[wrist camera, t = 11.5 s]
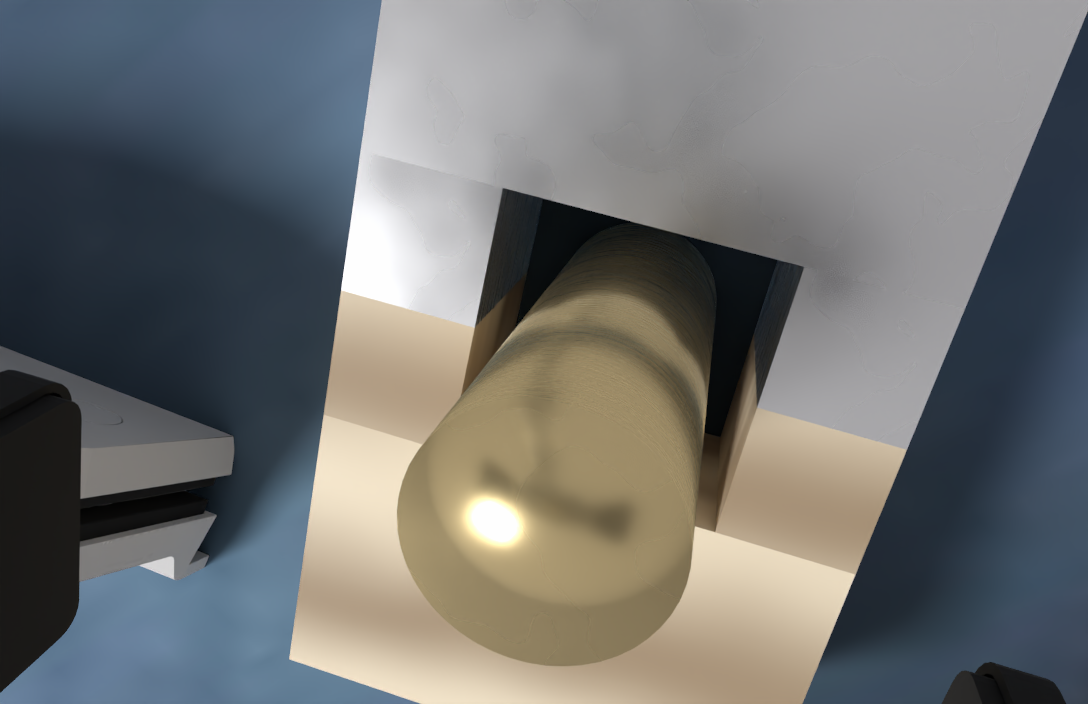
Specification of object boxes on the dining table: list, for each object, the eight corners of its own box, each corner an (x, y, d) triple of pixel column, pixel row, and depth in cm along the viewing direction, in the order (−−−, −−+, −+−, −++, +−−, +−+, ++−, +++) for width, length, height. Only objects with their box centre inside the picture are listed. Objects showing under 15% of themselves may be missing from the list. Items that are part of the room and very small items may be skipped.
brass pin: (580, 204, 22) (423, 361, 11) (736, 245, 22) (730, 451, 11) (546, 349, 24) (377, 614, 13) (692, 390, 23) (647, 702, 12)
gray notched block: (491, -183, 20) (417, -251, 15) (1037, -68, 19) (1135, -105, 14) (419, 242, 24) (341, 289, 19) (872, 365, 22) (906, 449, 18)
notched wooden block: (419, 242, 24) (341, 289, 19) (872, 365, 22) (906, 449, 18) (365, 555, 27) (289, 659, 23) (753, 678, 26) (755, 816, 21)
